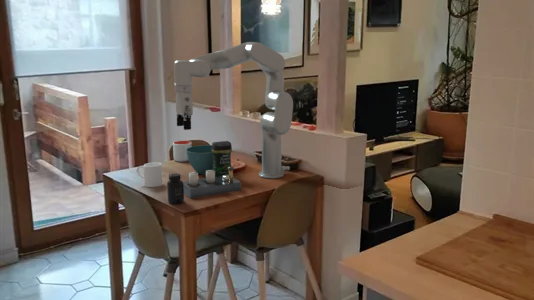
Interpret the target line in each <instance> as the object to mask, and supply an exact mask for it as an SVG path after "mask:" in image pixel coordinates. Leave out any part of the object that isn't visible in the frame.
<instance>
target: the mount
mask: <svg viewBox="0 0 534 300" xmlns="http://www.w3.org/2000/svg"><path fill="white" fill-rule="evenodd" d="M183 187H184V195H186V196H187V197H188V198H189V199H197V198H202V197H208V196H209V197H210V196H215V195H222V194H228V193H235V192H240V191H242V182H241V181H240V180H238V179H236V178H235V177H233V183H229V175H223V176H219V177H215V183H206V177H205V178H201V179H200V178H198V185H196V186H190V185H189V180H184V181H183Z"/></svg>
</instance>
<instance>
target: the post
mask: <svg viewBox="0 0 534 300" xmlns="http://www.w3.org/2000/svg"><path fill="white" fill-rule="evenodd" d="M234 168H235V167H234V166H232V165H231V166H230V167H228V170H229V183H233V178H234V172H233V171H234Z"/></svg>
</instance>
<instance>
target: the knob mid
mask: <svg viewBox="0 0 534 300" xmlns="http://www.w3.org/2000/svg"><path fill="white" fill-rule="evenodd" d="M205 178H206V183H215V171H214V170H208V171H206V174H205Z"/></svg>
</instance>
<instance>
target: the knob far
mask: <svg viewBox="0 0 534 300" xmlns="http://www.w3.org/2000/svg"><path fill="white" fill-rule="evenodd" d="M198 179H199V173H197V172H196V171H195V172H193V171H192V172H189V173H188V181H189V185H190V186H196V185H198Z"/></svg>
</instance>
